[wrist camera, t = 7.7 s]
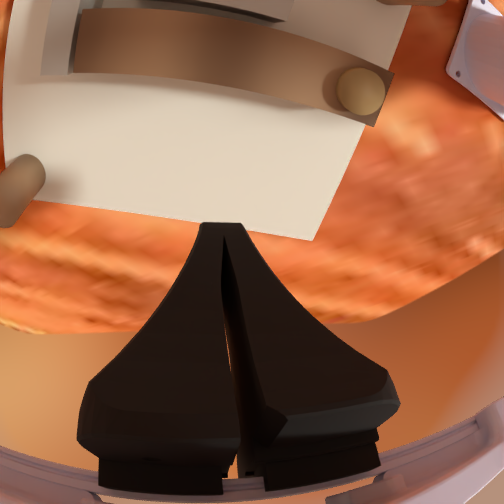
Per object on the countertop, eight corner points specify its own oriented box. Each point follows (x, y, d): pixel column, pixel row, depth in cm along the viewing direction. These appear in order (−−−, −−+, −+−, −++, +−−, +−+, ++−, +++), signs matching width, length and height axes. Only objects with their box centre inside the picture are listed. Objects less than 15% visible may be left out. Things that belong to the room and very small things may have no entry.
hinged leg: (367, 64, 14) (400, 75, 11) (350, 110, 16) (379, 131, 13) (104, 11, 10) (77, 8, 8) (95, 64, 12) (67, 75, 9)
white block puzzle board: (408, -22, 11) (465, -25, 7) (307, 228, 23) (328, 281, 19) (55, -86, 5) (12, -106, 1) (18, 186, 17) (-18, 232, 13)
